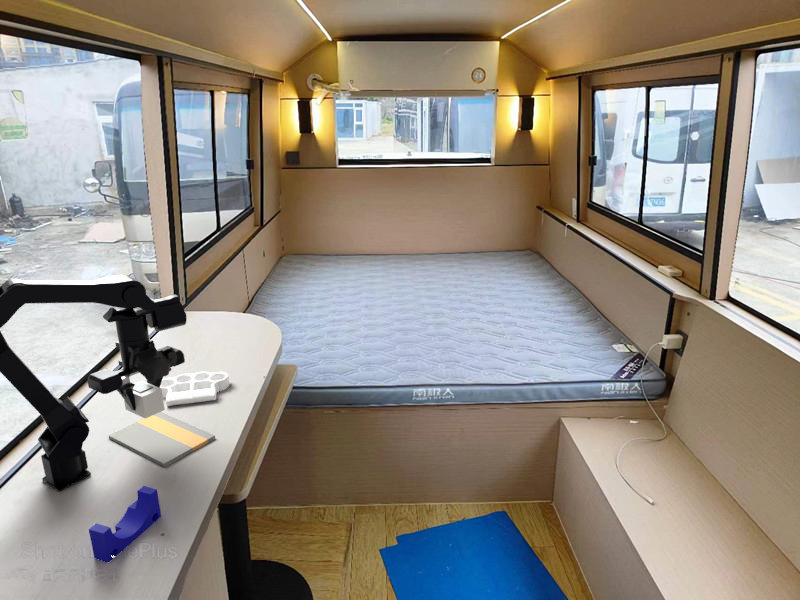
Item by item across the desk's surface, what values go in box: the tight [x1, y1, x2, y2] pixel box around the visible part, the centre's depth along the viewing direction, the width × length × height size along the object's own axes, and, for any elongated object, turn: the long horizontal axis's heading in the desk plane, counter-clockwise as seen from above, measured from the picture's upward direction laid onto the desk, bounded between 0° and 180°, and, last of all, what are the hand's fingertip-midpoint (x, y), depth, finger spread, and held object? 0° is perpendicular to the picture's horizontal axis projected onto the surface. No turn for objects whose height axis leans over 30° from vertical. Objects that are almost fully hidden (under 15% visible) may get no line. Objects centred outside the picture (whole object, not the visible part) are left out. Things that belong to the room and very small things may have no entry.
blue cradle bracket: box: [88, 485, 162, 563], centre depth 98 cm, size 12×4×6 cm, turn 160°
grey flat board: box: [108, 411, 216, 468], centre depth 129 cm, size 13×20×1 cm, turn 57°
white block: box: [123, 380, 166, 419], centre depth 122 cm, size 4×7×5 cm, turn 56°
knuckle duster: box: [160, 371, 230, 407], centre depth 150 cm, size 3×18×15 cm
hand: (144, 405), depth 122 cm, fingers closed on white block, 4 cm apart
